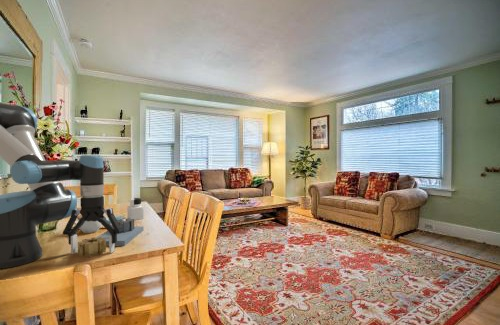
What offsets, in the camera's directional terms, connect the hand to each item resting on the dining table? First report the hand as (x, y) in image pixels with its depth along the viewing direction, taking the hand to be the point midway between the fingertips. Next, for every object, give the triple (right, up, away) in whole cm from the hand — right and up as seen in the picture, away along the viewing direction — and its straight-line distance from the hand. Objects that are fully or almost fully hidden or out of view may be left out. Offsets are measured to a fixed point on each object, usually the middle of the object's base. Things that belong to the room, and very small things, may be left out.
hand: (93, 252), depth 97 cm
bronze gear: (0, 0, 0) cm, 0 cm away
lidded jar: (-18, 0, +28) cm, 33 cm away
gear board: (0, 0, +18) cm, 18 cm away
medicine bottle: (-8, +1, +54) cm, 54 cm away
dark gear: (0, +2, +23) cm, 23 cm away
